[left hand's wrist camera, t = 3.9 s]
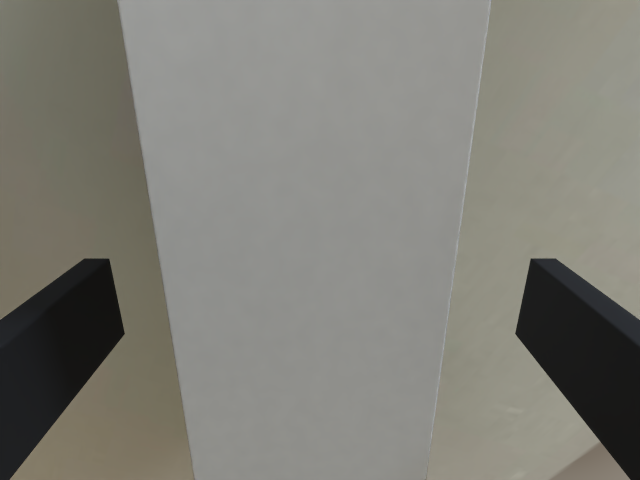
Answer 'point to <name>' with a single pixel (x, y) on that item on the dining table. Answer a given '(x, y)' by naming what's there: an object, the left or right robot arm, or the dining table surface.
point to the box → (307, 221)
